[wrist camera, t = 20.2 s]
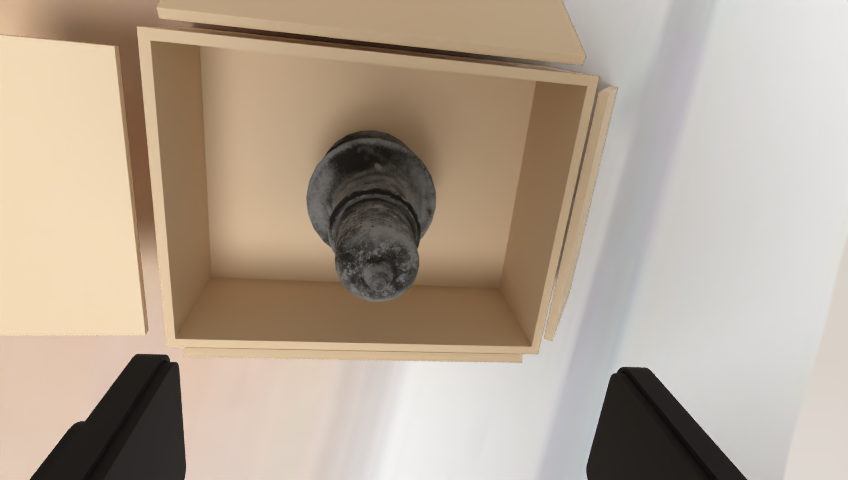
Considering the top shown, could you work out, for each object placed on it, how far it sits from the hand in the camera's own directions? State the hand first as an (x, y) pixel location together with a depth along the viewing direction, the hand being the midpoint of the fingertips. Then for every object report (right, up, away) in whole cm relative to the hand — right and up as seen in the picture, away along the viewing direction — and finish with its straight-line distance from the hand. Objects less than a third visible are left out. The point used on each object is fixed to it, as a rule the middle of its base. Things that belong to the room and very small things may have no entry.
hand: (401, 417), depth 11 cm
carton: (-1, +7, +16) cm, 18 cm away
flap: (-10, +5, +9) cm, 14 cm away
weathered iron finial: (-2, +7, +16) cm, 17 cm away
